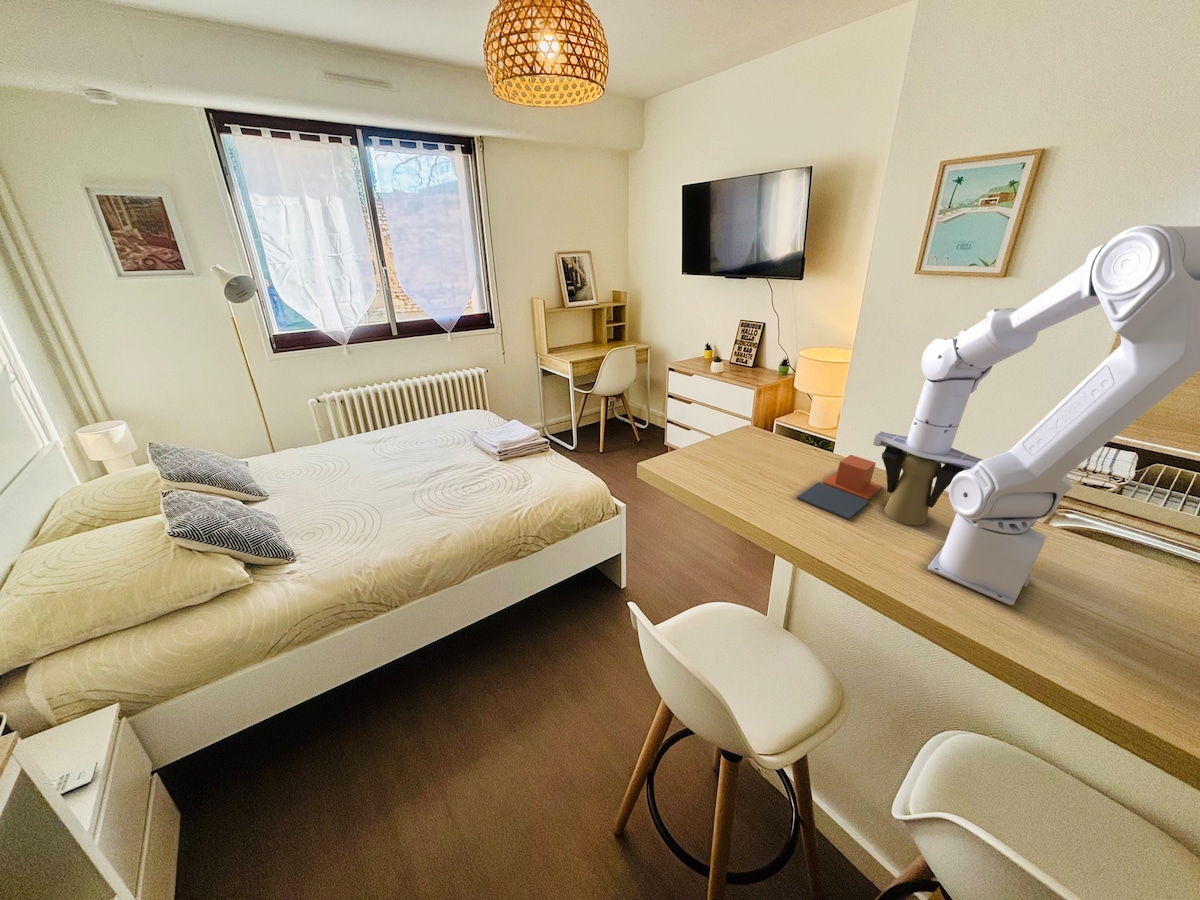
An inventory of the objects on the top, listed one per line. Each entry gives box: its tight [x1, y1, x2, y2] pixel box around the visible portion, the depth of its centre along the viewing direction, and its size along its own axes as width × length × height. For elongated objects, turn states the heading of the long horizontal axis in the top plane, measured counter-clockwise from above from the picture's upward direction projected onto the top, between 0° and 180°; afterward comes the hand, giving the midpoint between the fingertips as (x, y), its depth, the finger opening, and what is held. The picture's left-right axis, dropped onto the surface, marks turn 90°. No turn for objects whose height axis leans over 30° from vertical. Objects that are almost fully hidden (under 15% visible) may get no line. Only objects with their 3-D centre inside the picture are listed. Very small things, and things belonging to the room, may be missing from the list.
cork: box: [883, 454, 943, 527], centre depth 75 cm, size 6×6×11 cm
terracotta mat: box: [822, 472, 883, 501], centre depth 86 cm, size 8×6×1 cm
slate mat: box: [796, 481, 870, 521], centre depth 81 cm, size 9×8×1 cm
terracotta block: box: [835, 454, 877, 492], centre depth 85 cm, size 4×4×4 cm
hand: (910, 497), depth 76 cm, fingers open, 5 cm apart
